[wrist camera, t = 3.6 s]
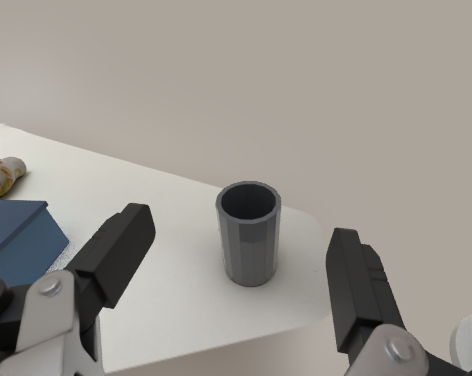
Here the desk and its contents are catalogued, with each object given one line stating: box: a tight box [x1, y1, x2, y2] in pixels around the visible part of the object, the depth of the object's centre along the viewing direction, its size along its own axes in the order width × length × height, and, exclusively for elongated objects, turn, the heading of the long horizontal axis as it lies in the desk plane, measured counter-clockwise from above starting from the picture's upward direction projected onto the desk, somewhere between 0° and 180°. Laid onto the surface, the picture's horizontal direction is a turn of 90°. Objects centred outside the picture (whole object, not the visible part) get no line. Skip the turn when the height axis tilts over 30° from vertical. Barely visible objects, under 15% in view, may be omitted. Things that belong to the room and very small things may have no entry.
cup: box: [216, 181, 281, 287], centre depth 27 cm, size 6×6×10 cm
